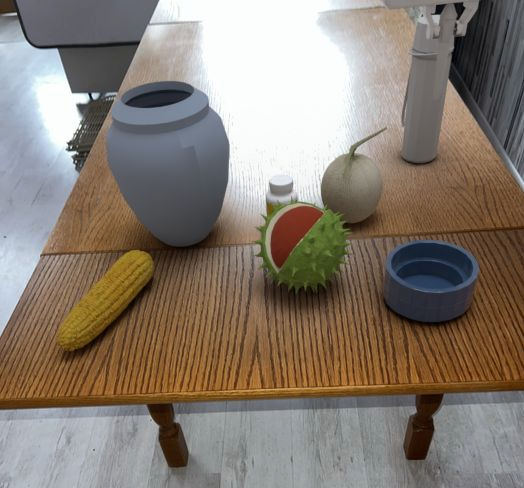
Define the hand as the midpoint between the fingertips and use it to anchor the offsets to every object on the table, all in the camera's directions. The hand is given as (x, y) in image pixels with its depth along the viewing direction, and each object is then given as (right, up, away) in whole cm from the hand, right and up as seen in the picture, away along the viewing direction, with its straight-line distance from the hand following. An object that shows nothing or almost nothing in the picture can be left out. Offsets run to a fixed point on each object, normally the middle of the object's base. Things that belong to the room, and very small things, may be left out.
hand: (445, 36), depth 82 cm
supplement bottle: (-24, -26, +15) cm, 38 cm away
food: (-50, -41, +2) cm, 65 cm away
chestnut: (-21, -37, +4) cm, 42 cm away
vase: (-41, -26, +16) cm, 52 cm away
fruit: (-12, -24, +16) cm, 31 cm away
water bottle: (+4, -7, +32) cm, 33 cm away
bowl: (-3, -39, -1) cm, 39 cm away
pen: (+1, -7, +6) cm, 9 cm away
